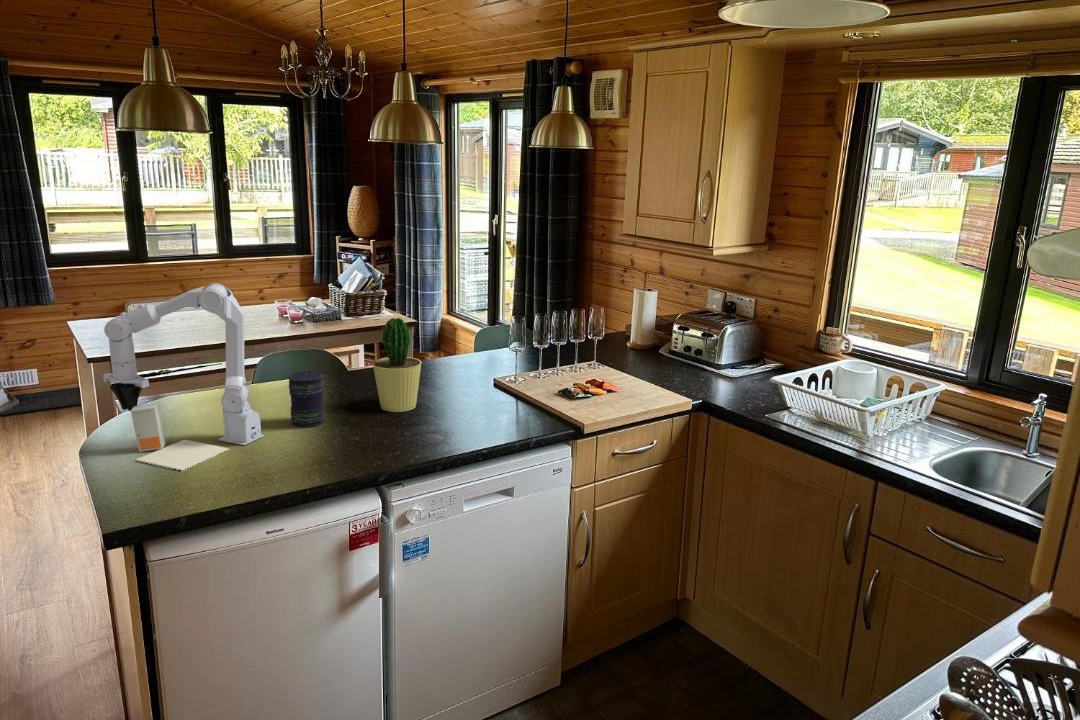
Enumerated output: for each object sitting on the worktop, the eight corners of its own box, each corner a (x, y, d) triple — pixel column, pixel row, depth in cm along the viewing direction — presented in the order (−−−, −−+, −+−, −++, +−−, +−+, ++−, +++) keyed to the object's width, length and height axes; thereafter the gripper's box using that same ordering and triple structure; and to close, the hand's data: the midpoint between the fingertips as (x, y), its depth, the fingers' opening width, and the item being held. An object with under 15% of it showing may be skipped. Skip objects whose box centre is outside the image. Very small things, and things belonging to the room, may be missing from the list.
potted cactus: (427, 400, 250) (425, 312, 242) (415, 415, 235) (413, 321, 228) (382, 398, 252) (379, 310, 244) (367, 412, 237) (364, 319, 229)
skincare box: (138, 452, 201) (129, 410, 198) (142, 447, 205) (133, 405, 202) (163, 449, 202) (154, 407, 199) (166, 443, 206) (157, 402, 203)
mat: (229, 450, 204) (228, 448, 204) (182, 471, 190) (181, 469, 190) (184, 441, 210) (184, 439, 210) (135, 461, 195) (135, 459, 195)
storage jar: (315, 429, 221) (312, 381, 217) (285, 426, 223) (281, 378, 219) (331, 418, 230) (328, 372, 227) (301, 416, 232) (298, 369, 228)
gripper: (90, 361, 199) (97, 410, 203) (130, 367, 194) (136, 417, 197) (114, 355, 205) (120, 402, 209) (153, 361, 200) (158, 409, 204)
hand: (129, 409), depth 204 cm, fingers closed
